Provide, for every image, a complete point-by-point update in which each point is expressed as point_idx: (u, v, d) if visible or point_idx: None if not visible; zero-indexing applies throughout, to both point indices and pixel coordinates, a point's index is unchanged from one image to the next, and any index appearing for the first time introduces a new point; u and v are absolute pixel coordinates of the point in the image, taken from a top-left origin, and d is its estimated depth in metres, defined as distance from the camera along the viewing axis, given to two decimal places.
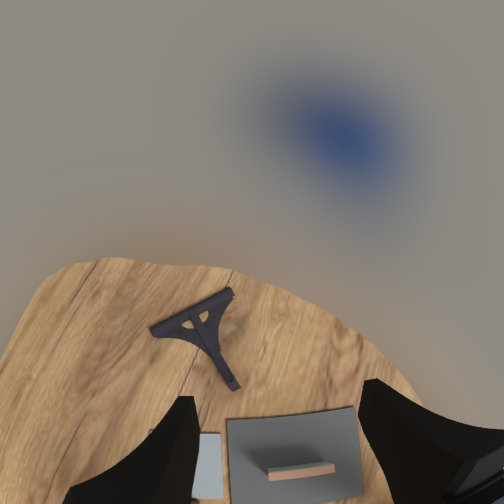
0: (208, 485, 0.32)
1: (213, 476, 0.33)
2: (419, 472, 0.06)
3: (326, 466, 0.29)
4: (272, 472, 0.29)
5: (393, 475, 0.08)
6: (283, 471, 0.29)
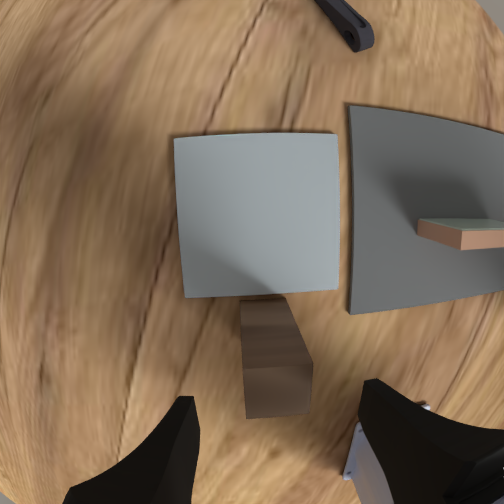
0: (309, 260, 0.19)
1: (321, 236, 0.19)
2: (419, 472, 0.06)
3: None
4: (466, 230, 0.14)
5: (393, 475, 0.08)
6: (480, 230, 0.14)
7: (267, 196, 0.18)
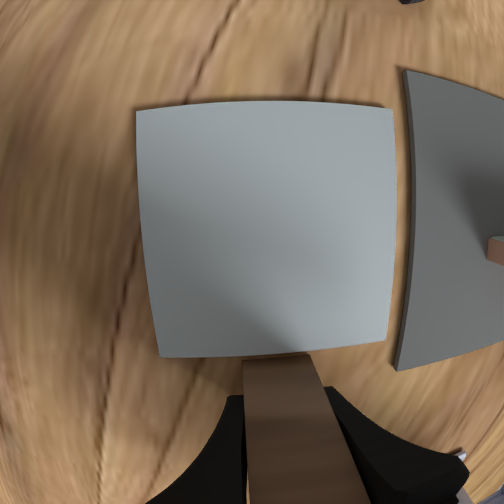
0: (349, 302, 0.12)
1: (368, 267, 0.12)
2: None
3: None
4: None
5: None
6: None
7: (286, 203, 0.11)
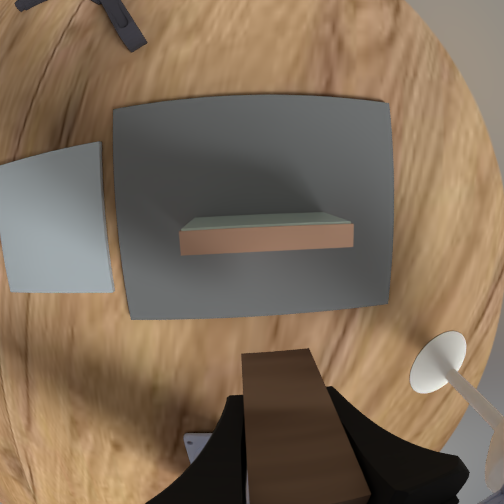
0: (83, 263, 0.19)
1: (89, 241, 0.18)
2: None
3: (333, 226, 0.14)
4: (190, 230, 0.14)
5: None
6: (219, 228, 0.14)
7: (47, 207, 0.18)
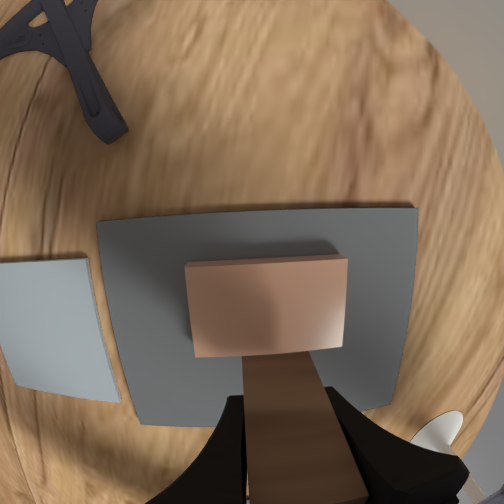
0: (86, 376, 0.17)
1: (90, 358, 0.17)
2: None
3: (323, 255, 0.16)
4: None
5: None
6: None
7: (40, 319, 0.16)
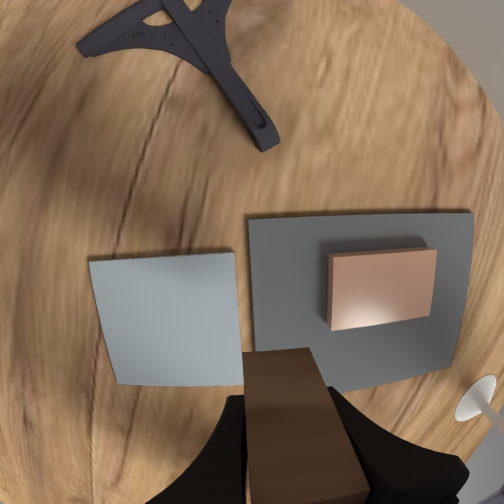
0: (214, 363, 0.21)
1: (222, 345, 0.21)
2: None
3: (418, 247, 0.20)
4: None
5: None
6: None
7: (170, 313, 0.20)
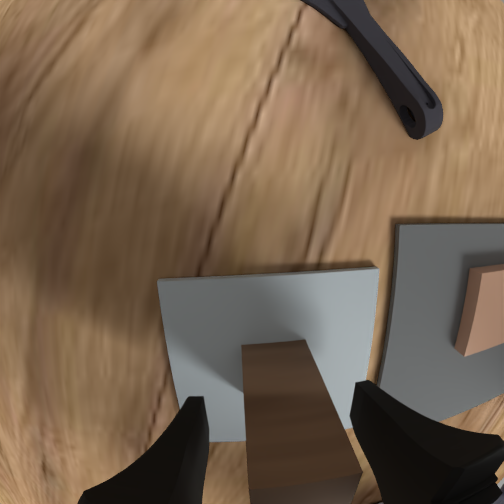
0: None
1: (344, 386, 0.15)
2: (408, 476, 0.06)
3: None
4: None
5: (383, 478, 0.08)
6: None
7: None
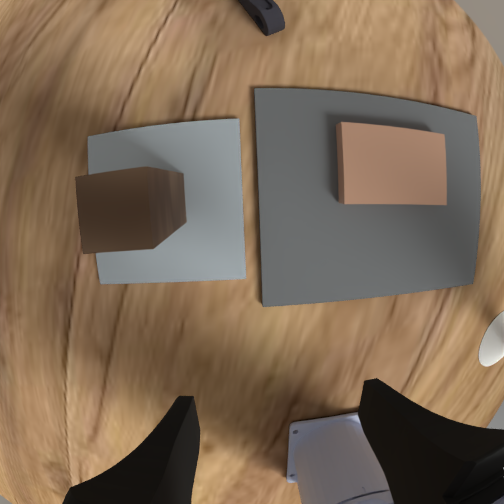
0: (212, 248, 0.19)
1: (223, 224, 0.19)
2: (419, 472, 0.06)
3: None
4: None
5: (393, 475, 0.08)
6: None
7: None
